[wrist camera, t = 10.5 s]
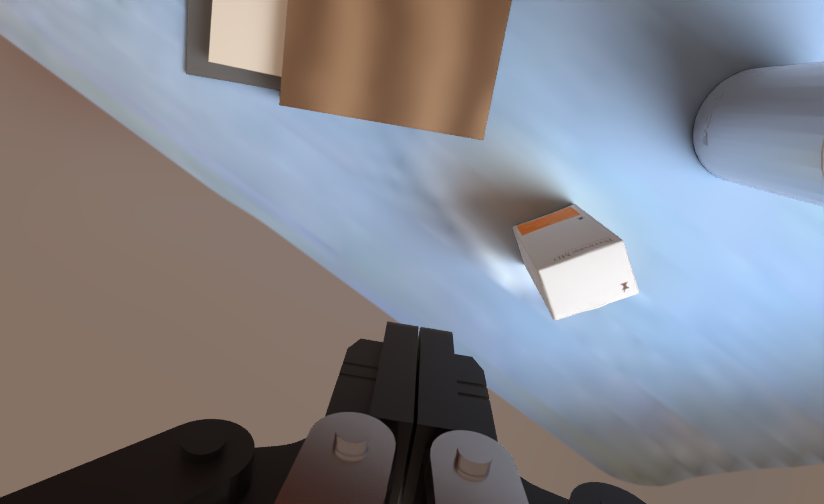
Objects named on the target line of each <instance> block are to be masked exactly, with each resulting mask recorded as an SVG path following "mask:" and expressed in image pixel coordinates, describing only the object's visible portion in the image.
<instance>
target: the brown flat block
mask: <svg viewBox="0 0 824 504" xmlns="http://www.w3.org/2000/svg"><path fill="white" fill-rule="evenodd" d="M511 1H512V0H288V2H287V15H286V27H285V40H284V52H283V65H282V78H281V90H280V103H279V105H282V106H288V107H293V108H299V109H305V110H311V111H317V112H322V113H328V114H334V115H340V116H346V117H352V118H357V119H363V120H369V121H375V122H381V123H386V124H392V125H398V126H404V127H410V128H415V129H421V130H427V131H433V132H439V133H444V134H450V135H456V136H462V137H468V138H473V139H479V140H483V138H484V134H485V129H486V124H487V119H488V114H489V109H490V104H491V99H492V94H493V90H494V85H495V80H496V75H497V70H498V65H499V60H500V55H501V50H502V46H503V41H504V36H505V31H506V26H507V21H508V16H509V11H510V6H511Z"/></svg>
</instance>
